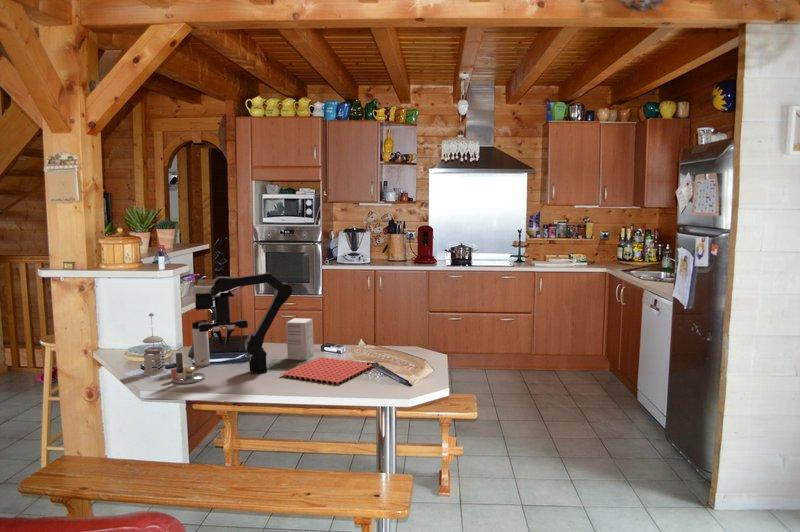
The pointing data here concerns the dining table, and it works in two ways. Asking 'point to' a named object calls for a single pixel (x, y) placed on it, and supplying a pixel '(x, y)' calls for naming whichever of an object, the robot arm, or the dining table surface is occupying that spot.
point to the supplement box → (300, 339)
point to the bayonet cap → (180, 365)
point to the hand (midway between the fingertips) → (224, 346)
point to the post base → (191, 380)
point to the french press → (156, 356)
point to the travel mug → (200, 345)
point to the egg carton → (327, 370)
